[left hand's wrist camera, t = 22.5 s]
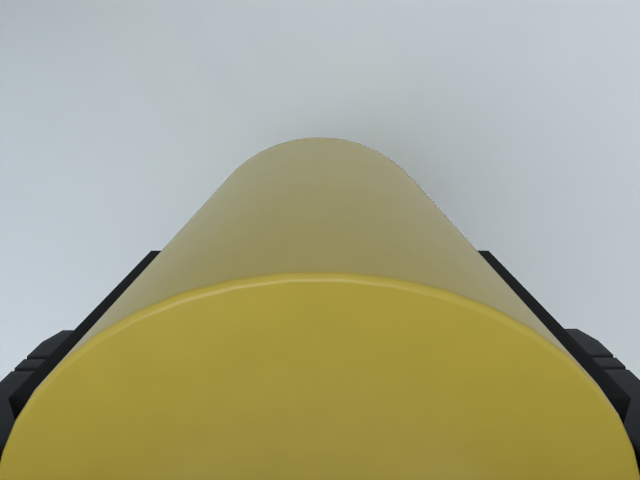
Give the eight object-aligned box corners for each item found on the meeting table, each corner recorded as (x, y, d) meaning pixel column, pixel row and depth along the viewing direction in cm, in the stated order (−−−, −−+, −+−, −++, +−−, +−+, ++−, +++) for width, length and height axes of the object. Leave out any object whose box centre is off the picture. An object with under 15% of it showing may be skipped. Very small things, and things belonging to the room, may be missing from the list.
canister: (354, 83, 14) (446, 100, 4) (478, 284, 17) (733, 616, 6) (153, 227, 16) (-155, 502, 6) (292, 389, 18) (257, 786, 8)
